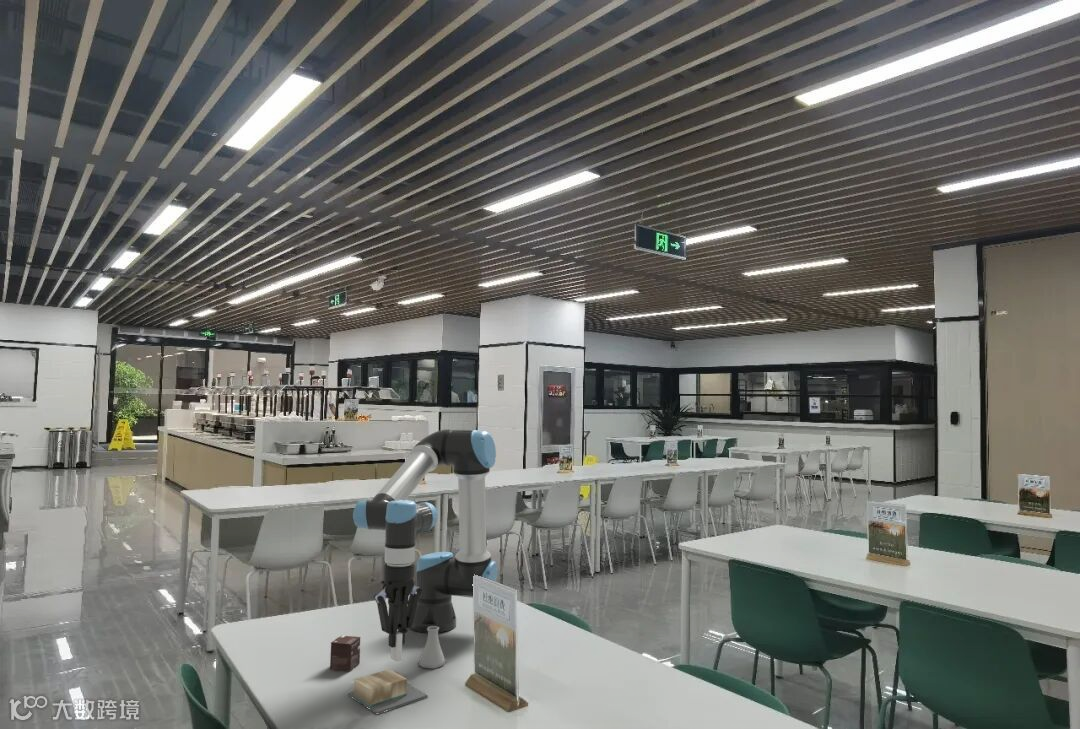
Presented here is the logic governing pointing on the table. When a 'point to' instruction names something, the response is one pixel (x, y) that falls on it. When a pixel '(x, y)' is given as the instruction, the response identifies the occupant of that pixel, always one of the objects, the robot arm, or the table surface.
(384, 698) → the slab
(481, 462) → the robot arm
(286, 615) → the table surface
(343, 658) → the box
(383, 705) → the mat
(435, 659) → the flask
